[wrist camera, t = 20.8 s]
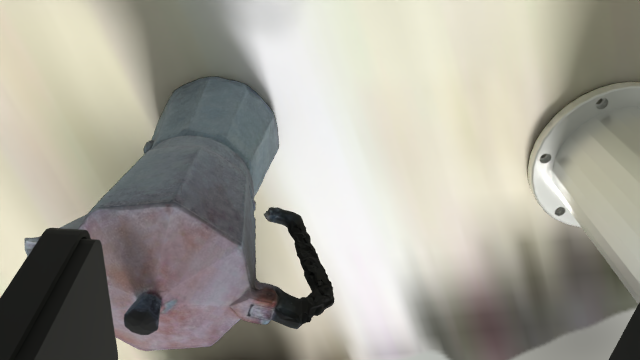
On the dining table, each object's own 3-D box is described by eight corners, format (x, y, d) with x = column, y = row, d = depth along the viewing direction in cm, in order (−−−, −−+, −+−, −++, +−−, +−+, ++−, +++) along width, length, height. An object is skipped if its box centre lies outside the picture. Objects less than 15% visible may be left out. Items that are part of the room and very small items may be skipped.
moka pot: (121, 47, 37) (-25, 217, 20) (339, 90, 40) (371, 275, 23) (117, 165, 42) (-5, 382, 25) (311, 198, 44) (320, 417, 27)
